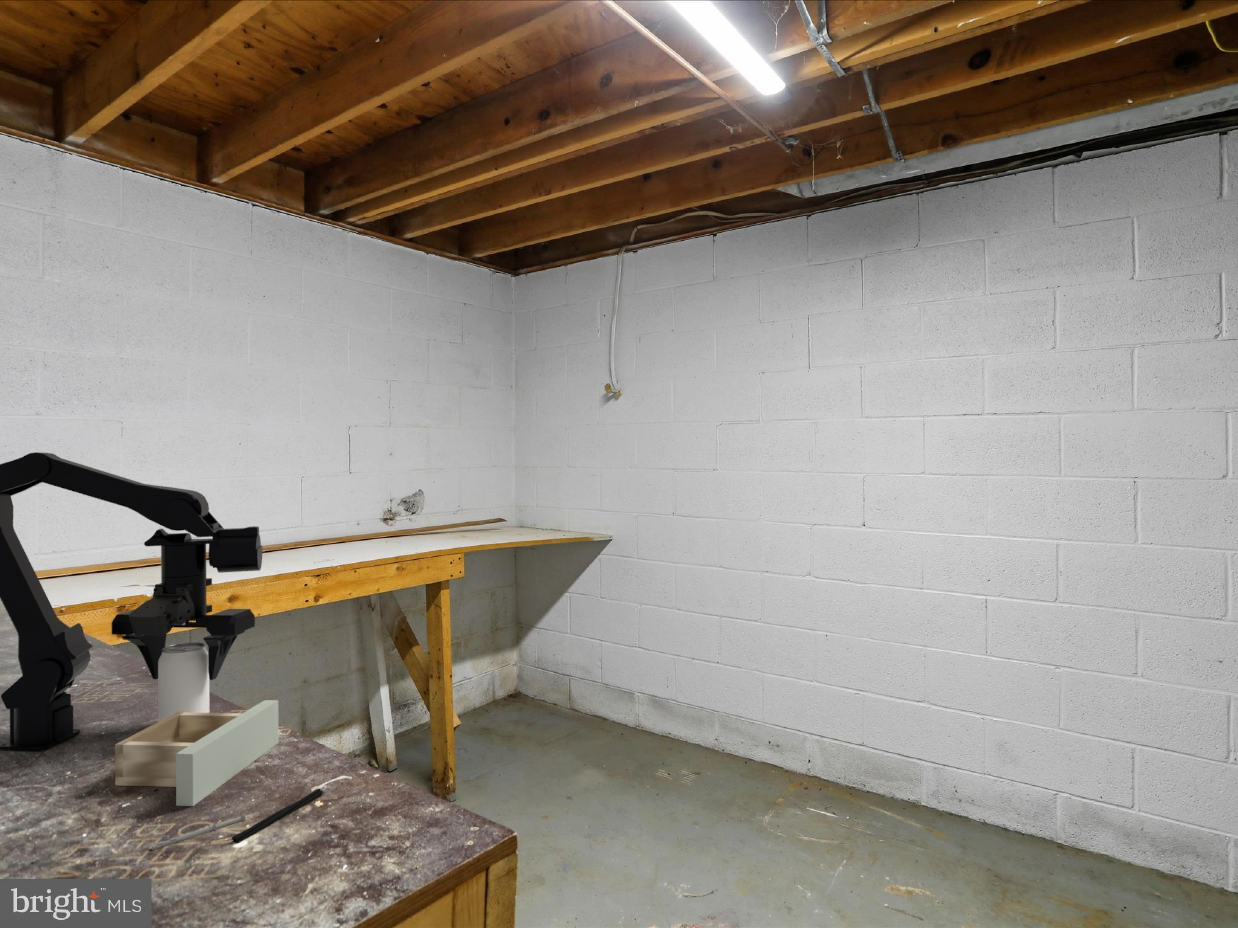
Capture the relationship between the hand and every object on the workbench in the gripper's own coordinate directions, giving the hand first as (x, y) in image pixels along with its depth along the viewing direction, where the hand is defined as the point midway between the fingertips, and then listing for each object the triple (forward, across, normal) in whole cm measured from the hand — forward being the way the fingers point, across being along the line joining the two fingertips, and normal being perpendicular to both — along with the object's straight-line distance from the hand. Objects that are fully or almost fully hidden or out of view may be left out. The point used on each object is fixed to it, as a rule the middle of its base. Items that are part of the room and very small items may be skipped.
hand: (184, 678), depth 104 cm
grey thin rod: (+8, +22, -29) cm, 37 cm away
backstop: (+7, +16, -14) cm, 23 cm away
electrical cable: (+8, +29, -24) cm, 38 cm away
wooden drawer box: (+7, +10, -13) cm, 18 cm away
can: (+7, 0, 0) cm, 7 cm away
